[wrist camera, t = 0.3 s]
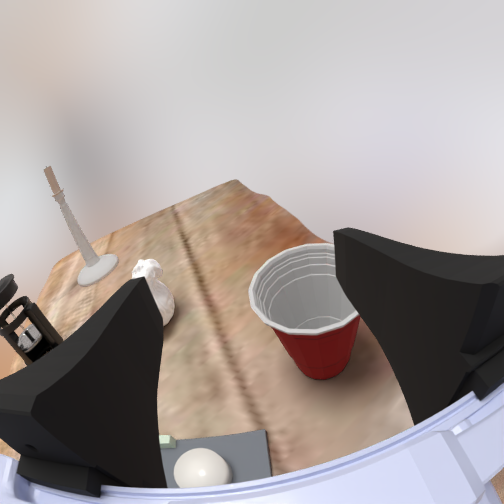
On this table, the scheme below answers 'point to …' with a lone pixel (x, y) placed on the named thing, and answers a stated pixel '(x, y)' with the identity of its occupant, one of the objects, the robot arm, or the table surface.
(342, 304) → the plastic cup
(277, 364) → the table surface
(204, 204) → the table surface
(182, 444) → the mat
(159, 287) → the white sheep figurine
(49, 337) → the french press
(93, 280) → the candlestick
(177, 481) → the white dome
